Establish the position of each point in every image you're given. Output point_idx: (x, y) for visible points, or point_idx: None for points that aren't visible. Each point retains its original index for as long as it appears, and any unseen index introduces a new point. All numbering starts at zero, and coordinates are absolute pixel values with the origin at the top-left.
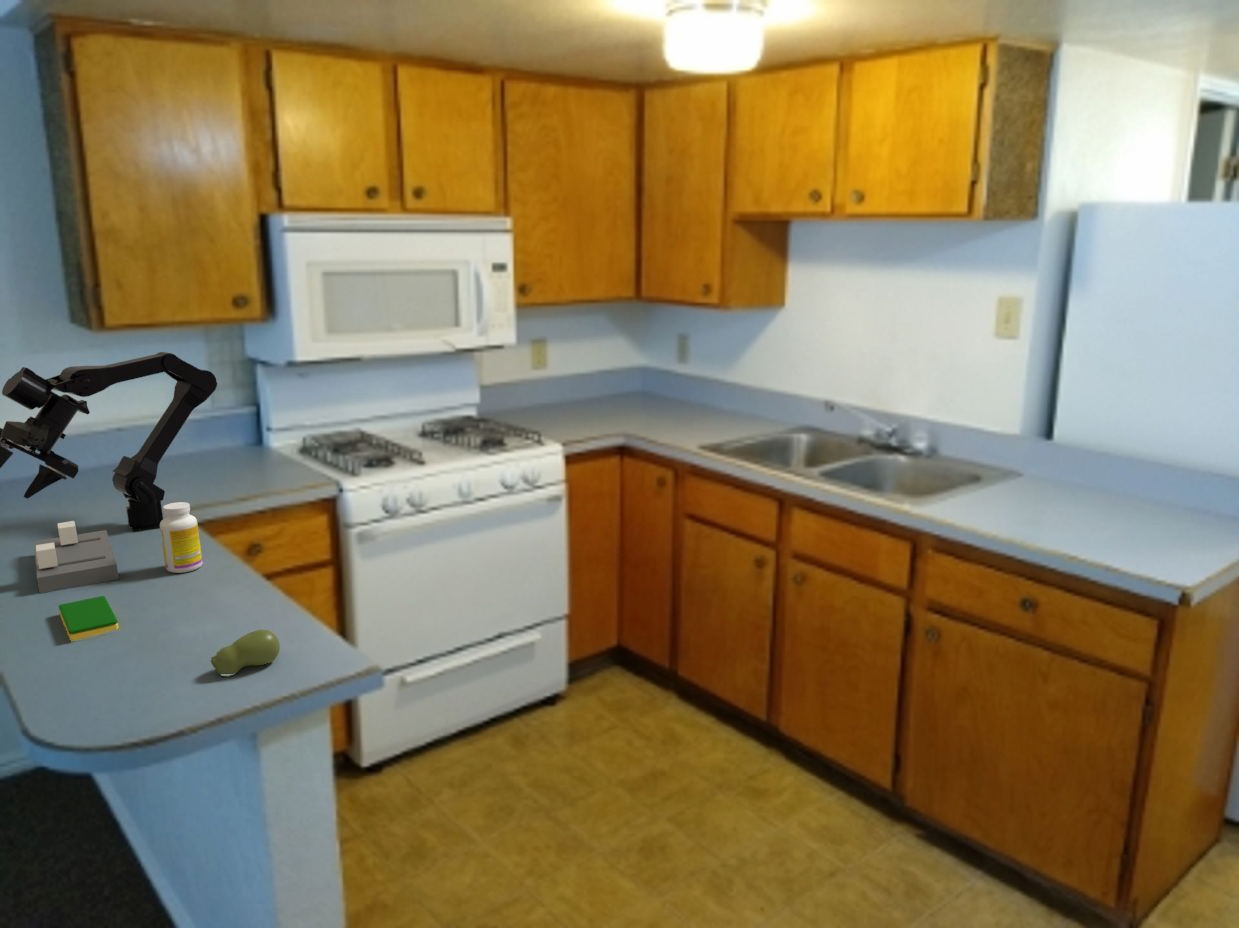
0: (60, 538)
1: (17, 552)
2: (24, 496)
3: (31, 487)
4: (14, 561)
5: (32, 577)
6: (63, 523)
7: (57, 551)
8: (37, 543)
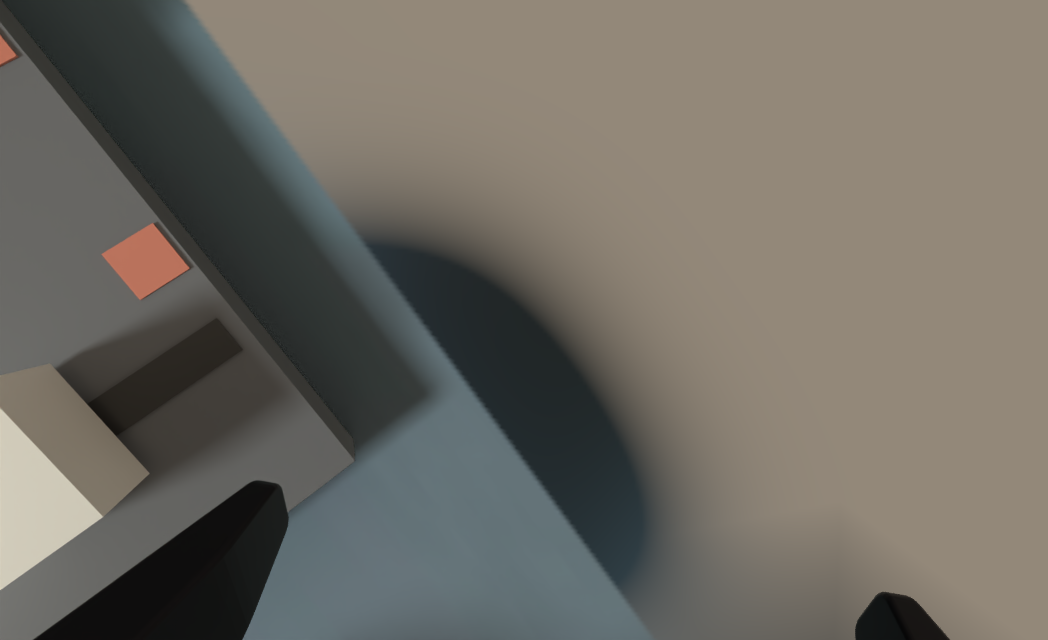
0: (18, 371)
1: (489, 467)
2: (261, 481)
3: (130, 594)
4: (412, 341)
5: (119, 96)
6: (35, 521)
7: (28, 283)
8: (303, 424)
